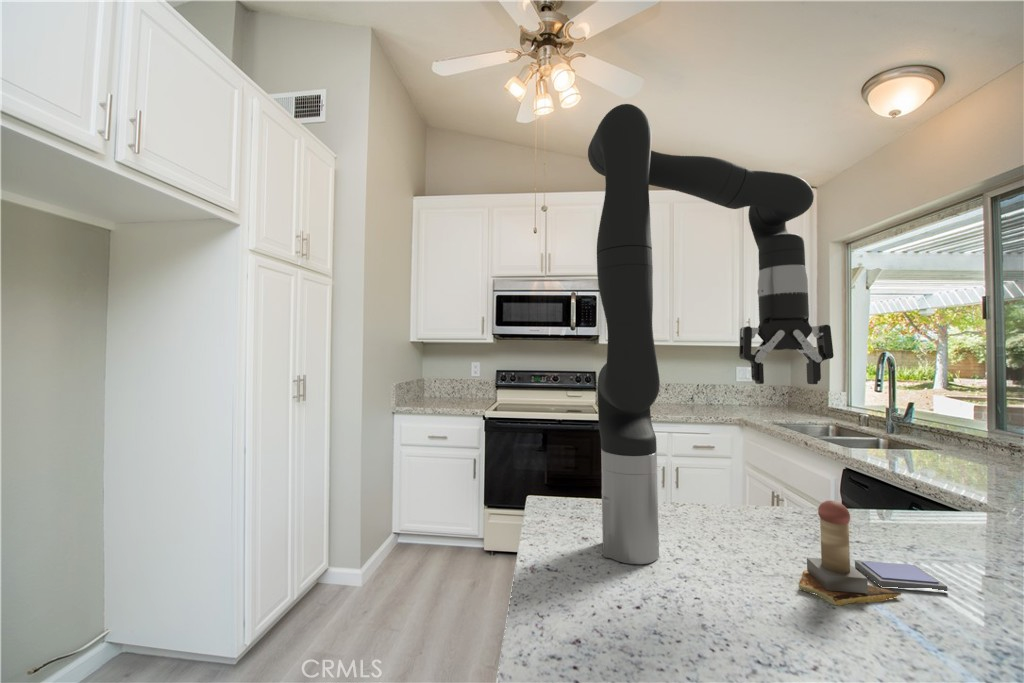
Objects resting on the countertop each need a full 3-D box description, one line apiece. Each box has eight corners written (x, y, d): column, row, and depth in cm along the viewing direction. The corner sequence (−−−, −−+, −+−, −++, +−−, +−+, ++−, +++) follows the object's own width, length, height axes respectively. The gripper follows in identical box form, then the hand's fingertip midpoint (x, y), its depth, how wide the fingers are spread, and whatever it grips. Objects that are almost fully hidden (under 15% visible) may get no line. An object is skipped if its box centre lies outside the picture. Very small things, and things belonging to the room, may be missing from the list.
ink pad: (880, 587, 59) (880, 579, 59) (855, 566, 65) (854, 559, 65) (947, 593, 57) (947, 584, 57) (915, 571, 63) (914, 563, 63)
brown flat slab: (902, 604, 56) (901, 590, 56) (904, 632, 50) (904, 617, 51) (804, 576, 63) (804, 564, 63) (797, 599, 58) (796, 586, 58)
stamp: (826, 590, 57) (823, 506, 57) (807, 571, 62) (804, 494, 62) (867, 593, 56) (864, 508, 56) (845, 573, 61) (842, 496, 61)
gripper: (746, 292, 72) (749, 385, 72) (839, 288, 69) (843, 385, 69) (732, 298, 80) (735, 382, 79) (816, 295, 77) (819, 382, 76)
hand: (785, 383), depth 74 cm, fingers open, 8 cm apart
